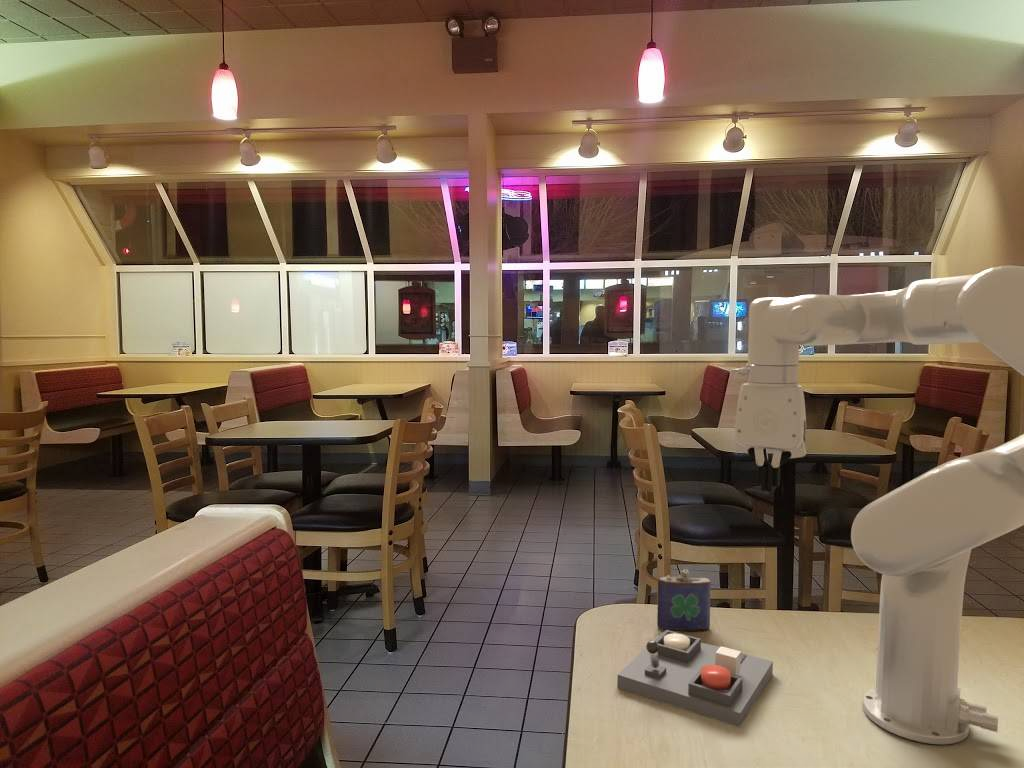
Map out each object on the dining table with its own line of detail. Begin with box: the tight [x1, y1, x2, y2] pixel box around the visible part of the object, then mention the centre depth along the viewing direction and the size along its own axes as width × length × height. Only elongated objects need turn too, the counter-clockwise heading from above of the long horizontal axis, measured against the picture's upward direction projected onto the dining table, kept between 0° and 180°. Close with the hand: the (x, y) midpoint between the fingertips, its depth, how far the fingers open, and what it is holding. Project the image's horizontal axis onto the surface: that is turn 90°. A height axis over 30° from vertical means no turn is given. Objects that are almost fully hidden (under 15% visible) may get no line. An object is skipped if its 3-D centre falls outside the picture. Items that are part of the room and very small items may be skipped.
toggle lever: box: [645, 640, 659, 668], centre depth 102 cm, size 2×2×5 cm
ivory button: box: [664, 633, 690, 651], centre depth 110 cm, size 4×4×2 cm
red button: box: [701, 665, 731, 690], centre depth 98 cm, size 4×4×2 cm
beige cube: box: [715, 646, 742, 676], centre depth 102 cm, size 3×2×3 cm
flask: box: [656, 568, 712, 633], centre depth 122 cm, size 9×3×11 cm, turn 88°
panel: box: [616, 630, 774, 728], centre depth 104 cm, size 18×17×4 cm
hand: (768, 489), depth 111 cm, fingers closed
